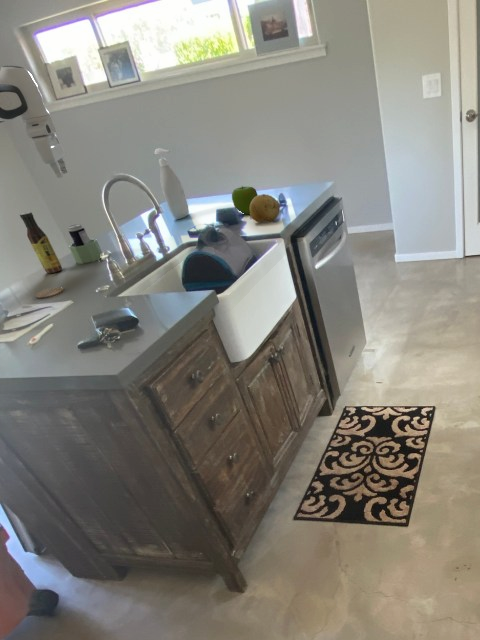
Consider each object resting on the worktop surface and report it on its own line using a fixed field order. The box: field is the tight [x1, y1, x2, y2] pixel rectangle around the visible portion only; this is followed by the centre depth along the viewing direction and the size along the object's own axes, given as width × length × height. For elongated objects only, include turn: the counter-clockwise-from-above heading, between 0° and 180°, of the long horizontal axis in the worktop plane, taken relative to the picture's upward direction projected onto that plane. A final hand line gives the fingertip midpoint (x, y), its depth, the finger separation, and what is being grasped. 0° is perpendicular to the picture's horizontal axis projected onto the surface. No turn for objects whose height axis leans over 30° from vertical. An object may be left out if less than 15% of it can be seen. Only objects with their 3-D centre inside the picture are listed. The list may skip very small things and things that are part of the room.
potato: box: [249, 193, 281, 223], centre depth 212 cm, size 10×12×10 cm
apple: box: [231, 185, 259, 216], centre depth 228 cm, size 11×11×11 cm
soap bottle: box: [153, 147, 190, 220], centre depth 234 cm, size 14×8×27 cm, turn 169°
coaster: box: [35, 286, 65, 299], centre depth 177 cm, size 9×9×1 cm
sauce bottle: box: [19, 211, 63, 275], centre depth 191 cm, size 7×6×20 cm
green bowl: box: [68, 238, 103, 265], centre depth 203 cm, size 10×10×6 cm
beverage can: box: [67, 223, 91, 247], centre depth 201 cm, size 6×6×12 cm
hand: (63, 175), depth 185 cm, fingers open, 8 cm apart
